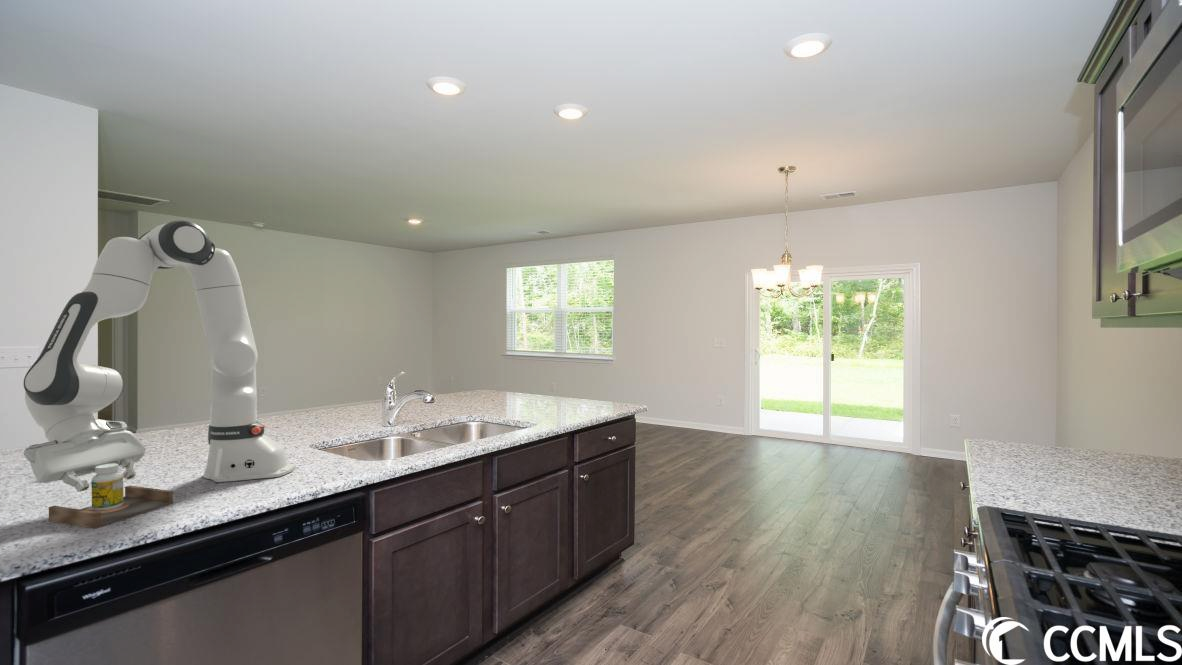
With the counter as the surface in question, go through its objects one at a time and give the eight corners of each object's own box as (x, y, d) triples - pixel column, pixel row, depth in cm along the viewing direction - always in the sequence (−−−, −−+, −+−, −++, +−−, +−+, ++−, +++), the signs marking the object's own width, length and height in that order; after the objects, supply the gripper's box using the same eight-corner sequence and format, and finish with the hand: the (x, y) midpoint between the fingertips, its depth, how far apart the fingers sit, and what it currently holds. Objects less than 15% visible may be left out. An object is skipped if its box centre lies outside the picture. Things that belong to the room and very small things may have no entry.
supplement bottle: (129, 503, 125) (129, 462, 125) (107, 511, 120) (107, 469, 119) (107, 503, 125) (107, 462, 125) (84, 511, 120) (84, 468, 120)
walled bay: (48, 520, 116) (48, 507, 116) (129, 497, 131) (129, 485, 131) (95, 528, 112) (95, 514, 112) (173, 503, 128) (173, 491, 128)
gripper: (26, 437, 114) (59, 487, 111) (131, 420, 134) (161, 463, 131) (12, 456, 115) (45, 506, 113) (118, 437, 135) (148, 479, 133)
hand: (108, 483), depth 122 cm, fingers open, 8 cm apart
